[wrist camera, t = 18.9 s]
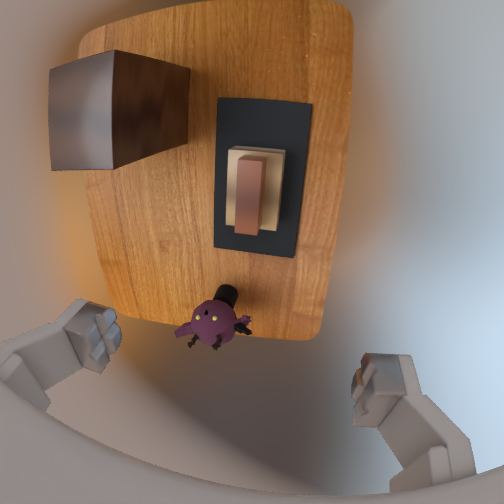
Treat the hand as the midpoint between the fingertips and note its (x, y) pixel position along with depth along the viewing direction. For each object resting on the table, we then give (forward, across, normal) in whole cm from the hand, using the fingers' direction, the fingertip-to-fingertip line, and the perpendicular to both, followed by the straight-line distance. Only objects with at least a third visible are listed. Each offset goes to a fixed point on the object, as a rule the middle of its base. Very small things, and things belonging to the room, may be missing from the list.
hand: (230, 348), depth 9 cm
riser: (+29, +17, -7) cm, 34 cm away
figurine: (+29, +7, +20) cm, 36 cm away
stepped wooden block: (+28, +4, +2) cm, 29 cm away
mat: (+29, +4, +2) cm, 29 cm away
